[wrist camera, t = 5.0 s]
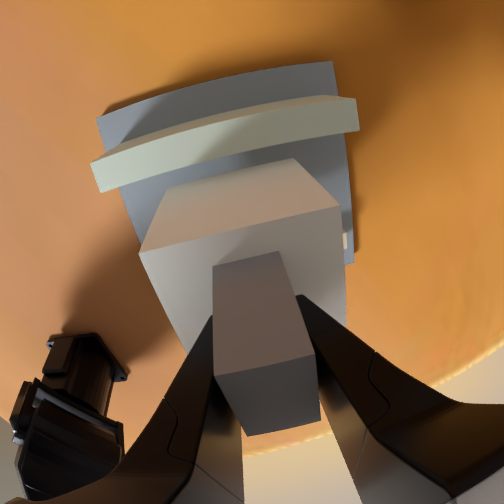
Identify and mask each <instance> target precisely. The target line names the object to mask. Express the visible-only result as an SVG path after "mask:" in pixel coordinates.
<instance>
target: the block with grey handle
mask: <svg viewBox="0 0 504 504" xmlns="http://www.w3.org/2000/svg"><path fill="white" fill-rule="evenodd" d="M138 254H139V257H140V259H141V261H142V263H143V266H144V268H145V270H146V272H147V274H148V277H149V279H150V281H151V283H152V285H153V287H154V290H155V292H156V294H157V296H158V298H159V300H160V302H161V304H162V306H163V308H164V310H165V312H166V314H167V316H168V318H169V320H170V322H171V324H172V326H173V328H174V330H175V332H176V334H177V336H178V338H179V340H180V341H181V343H182V345H183V347H184V349H185V351H186V353H187V354H189V352H190V350H191V348H192V347H193V345H194V343H195V341H196V340H197V338H198V336H199V334H200V333H201V331H202V329H203V327H204V326H205V324H206V322H207V320H208V319H209V317H210V316H211V315H213V362H214V377H215V379H216V381H217V383H218V385H219V387H220V388H221V390H222V392H223V394H224V396H225V398H226V400H227V401H228V403H229V405H230V407H231V409H232V410H233V412H234V414H235V416H236V418H237V419H238V421H239V423H240V425H241V426H242V428H243V430H244V432H245V433H246V435H247V437H248V436H253V435H259V434H264V433H270V432H275V431H279V430H284V429H289V428H293V427H297V426H302V425H306V424H310V423H314V422H317V421H321V414H320V402H319V390H318V379H317V369H316V359H315V352H314V349H313V346H312V343H311V341H310V338H309V335H308V332H307V329H306V326H305V323H304V320H303V317H302V314H301V312H300V309H299V306H298V303H297V300H296V297H295V295H299V294H303V295H305V296H306V297H307V298H308V299H310V300H311V301H312V302H314V303H315V304H316V305H317V306H319V307H320V308H321V309H322V310H324V311H325V312H326V313H328V314H329V315H330V316H331V317H333V318H334V319H335V320H337V321H338V322H339V323H340V324H342V325H343V326H344V327H345V328H346V286H345V262H344V245H343V230H342V217H341V206H340V204H339V203H338V202H337V201H336V200H335V199H334V198H333V197H332V196H331V195H330V194H329V193H328V192H327V191H326V190H325V189H324V188H323V187H322V186H321V185H320V184H319V183H318V182H317V181H316V180H315V179H314V178H313V177H312V176H311V175H310V174H309V173H308V172H307V171H306V170H305V169H304V168H303V167H302V166H301V165H300V164H299V163H298V162H297V161H296V160H295V159H294V158H290V159H285V160H281V161H276V162H271V163H267V164H262V165H258V166H253V167H249V168H244V169H240V170H236V171H232V172H228V173H224V174H220V175H216V176H212V177H208V178H204V179H200V180H196V181H193V182H189V183H185V184H182V185H178V186H175V187H171V188H168V189H166V191H165V193H164V196H163V198H162V200H161V202H160V204H159V206H158V209H157V211H156V213H155V215H154V218H153V220H152V222H151V224H150V227H149V229H148V231H147V234H146V236H145V239H144V241H143V243H142V246H141V248H140V251H139V253H138Z"/></svg>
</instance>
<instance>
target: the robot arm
mask: <svg viewBox="0 0 504 504" xmlns="http://www.w3.org/2000/svg"><path fill="white" fill-rule="evenodd" d="M295 297H296V300H297V303H298V306H299V309H300V312H301V314H302V317H303V320H304V323H305V326H306V329H307V332H308V335H309V338H310V341H311V343H312V346H313V349H314V352H315V359H316V369H317V379H318V390H319V399H320V402H321V404H322V406H323V409H324V411H325V414H326V416H327V418H328V421H329V423H330V426H331V428H332V430H333V433H334V435H335V438H336V440H337V443H338V445H339V447H340V450H341V452H342V454H343V457H344V459H345V462H346V464H347V467H348V469H349V471H350V474H351V476H352V479H353V482H354V484H355V486H356V489H357V491H358V494H359V496H360V499H361V501H362V503H363V504H504V404H471V403H463V402H459V401H455V400H453V399H450V398H448V397H446V396H445V395H443V394H441V393H439V392H437V391H436V390H434V389H432V388H431V387H429V386H427V385H426V384H424V383H422V382H420V381H419V380H417V379H415V378H414V377H412V376H410V375H409V374H407V373H405V372H404V371H402V370H401V369H399V368H398V367H396V366H395V365H393V364H392V363H391V362H389V361H388V360H387V359H385V358H384V357H383V356H381V355H380V354H379V353H378V352H375V350H374V349H372V348H371V347H370V346H368V345H367V344H366V343H365V342H363V341H362V340H361V339H360V338H358V337H357V336H356V335H354V334H353V333H352V332H351V331H349V330H348V329H347V328H345V327H344V326H343V325H342V324H340V323H339V322H338V321H337V320H335V319H334V318H333V317H331V316H330V315H329V314H328V313H326V312H325V311H324V310H322V309H321V308H320V307H319V306H317V305H316V304H315V303H314V302H312V301H311V300H310V299H308V298H307V297H306V296H305V295H303V294H299V295H295ZM46 345H47V347H48V348H49V349H50V353H49V355H48V357H47V360H46V362H45V364H44V367H43V369H42V373H43V374H44V376H43V378H42V381H41V382H40V380H39V379H37V378H36V377H35V378H34V380H33V382H27V381H24V382H23V384H22V387H21V389H20V392H19V394H18V397H17V400H16V402H15V405H14V408H13V411H12V413H11V416H10V419H9V421H10V423H11V426H12V428H13V430H12V433H13V439H12V442H14V443H15V444H17V445H19V447H18V450H17V454H16V457H15V468H16V471H17V475H18V478H19V481H20V484H21V487H22V490H23V493H24V496H25V499H24V498H21V497H16V498H14V499H12V500H10V501H8V502H6V503H5V504H244V485H243V463H242V440H241V425H240V423H239V421H238V419H237V418H236V416H235V414H234V412H233V410H232V409H231V407H230V405H229V403H228V401H227V400H226V398H225V396H224V394H223V392H222V390H221V388H220V387H219V385H218V383H217V381H216V379H215V377H214V362H213V315H211V316H210V317H209V319H208V320H207V322H206V324H205V326H204V327H203V329H202V331H201V333H200V334H199V336H198V338H197V340H196V341H195V343H194V345H193V347H192V348H191V350H190V352H189V354H188V355H187V357H186V359H185V361H184V362H183V364H182V366H181V368H180V369H179V371H178V373H177V375H176V376H175V378H174V380H173V382H172V383H171V385H170V387H169V389H168V390H167V392H166V394H165V396H164V398H165V399H164V398H163V399H162V401H161V403H160V404H159V406H158V408H157V410H156V411H155V413H154V414H153V416H152V418H151V419H150V421H149V422H148V424H147V425H146V427H145V428H144V430H143V431H142V433H141V434H140V435H139V437H138V438H137V440H136V441H135V442H134V444H133V445H132V446H131V448H130V449H129V450H128V452H127V453H126V454H125V450H124V432H123V423H121V422H118V421H117V422H116V421H114V420H112V419H109V418H107V412H108V407H109V402H110V397H111V393H112V388H113V384H114V382H121V381H126V380H127V377H128V375H127V374H126V372H125V371H124V370H123V369H122V367H121V366H120V365H119V363H118V362H117V361H116V359H115V358H114V356H113V355H112V354H111V352H110V351H109V349H108V348H107V347H106V345H105V344H104V342H103V341H102V339H101V338H100V337H99V335H97V334H95V333H90V334H83V335H77V336H70V337H64V338H57V339H50V340H48V341H47V344H46ZM34 407H35V408H34Z"/></svg>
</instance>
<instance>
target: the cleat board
mask: <svg viewBox="0 0 504 504" xmlns="http://www.w3.org/2000/svg"><path fill="white" fill-rule="evenodd" d="M96 122H97V125H98V128H99V131H100V135H101V138H102V141H103V144H104V147H105V150H106V153H105V154H103V155H102V156H100V157H99V158H97V159H96V160H94V161H93V162H91V163H90V165H91V168H92V171H93V174H94V176H95V179H96V182H97V185H98V187H99V190H100V192H101V193H103V192H106V191H109V190H112V189H115V188H117V187H118V188H119V191H120V193H121V196H122V199H123V201H124V204H125V207H126V209H127V212H128V214H129V217H130V219H131V222H132V224H133V227H134V229H135V232H136V234H137V237H138V239H139V242H140V244H141V246H142V243H143V241H144V239H145V236H146V234H147V231H148V229H149V227H150V224H151V222H152V220H153V218H154V215H155V213H156V211H157V209H158V206H159V204H160V202H161V200H162V198H163V196H164V193H165V191H166V189H168V188H171V187H175V186H178V185H182V184H185V183H189V182H193V181H196V180H200V179H204V178H208V177H212V176H216V175H220V174H224V173H228V172H232V171H236V170H240V169H244V168H249V167H253V166H258V165H262V164H267V163H271V162H276V161H281V160H285V159H290V158H294V159H295V160H296V161H297V162H298V163H299V164H300V165H301V166H302V167H303V168H304V169H305V170H306V171H307V172H308V173H309V174H310V175H311V176H312V177H313V178H314V179H315V180H316V181H317V182H318V183H319V184H320V185H321V186H322V187H323V188H324V189H325V190H326V191H327V192H328V193H329V194H330V195H331V196H332V197H333V198H334V199H335V200H336V201H337V202H338V203H339V204H340V206H341V217H342V230H343V245H344V262H345V265H347V264H351V263H354V241H353V221H352V206H351V193H350V181H349V171H348V161H347V152H346V144H345V136H344V133H347V132H354V131H360V127H359V119H358V111H357V104H356V99H355V98H348V97H340V96H339V95H338V89H337V83H336V77H335V72H334V67H333V61H324V62H314V63H305V64H297V65H289V66H282V67H276V68H269V69H263V70H258V71H252V72H247V73H242V74H237V75H233V76H228V77H224V78H219V79H215V80H211V81H207V82H203V83H199V84H195V85H192V86H188V87H184V88H181V89H177V90H174V91H171V92H167V93H164V94H161V95H158V96H155V97H152V98H149V99H146V100H143V101H140V102H137V103H134V104H132V105H129V106H126V107H124V108H121V109H118V110H116V111H113V112H111V113H108V114H106V115H103V116H101V117H98V118H96Z"/></svg>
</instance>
